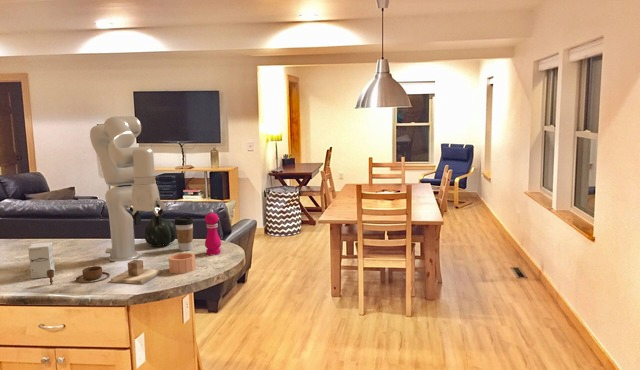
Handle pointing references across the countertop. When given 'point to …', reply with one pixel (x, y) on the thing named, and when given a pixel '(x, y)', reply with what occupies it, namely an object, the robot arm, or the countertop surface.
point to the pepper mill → (212, 234)
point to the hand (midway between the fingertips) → (148, 225)
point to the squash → (160, 233)
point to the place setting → (84, 274)
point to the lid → (135, 273)
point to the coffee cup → (184, 232)
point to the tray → (135, 283)
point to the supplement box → (41, 259)
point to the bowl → (182, 263)
